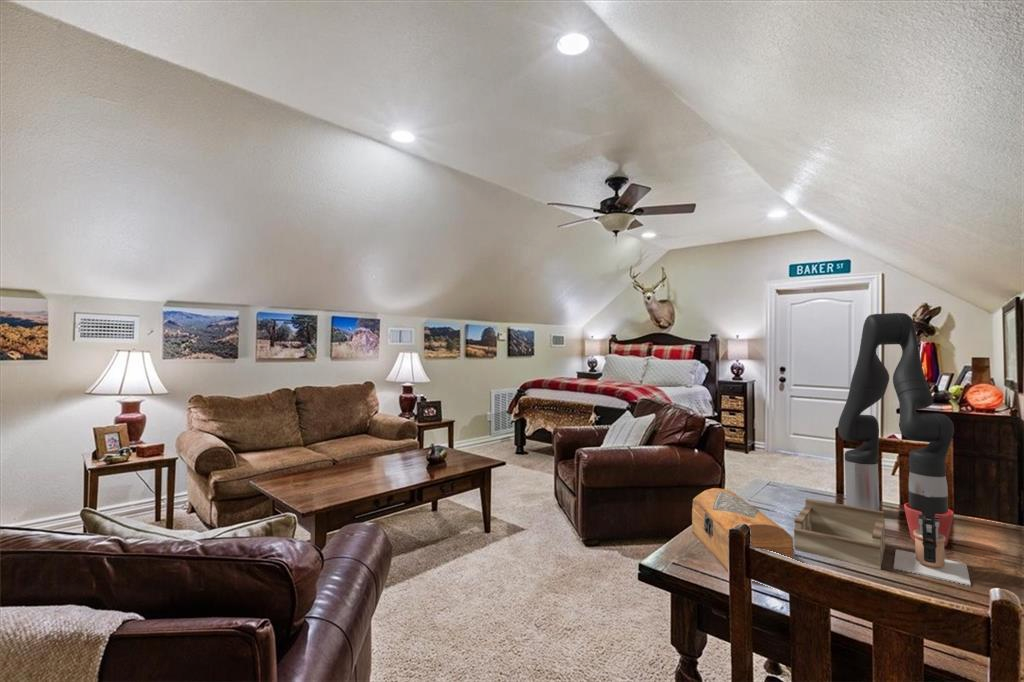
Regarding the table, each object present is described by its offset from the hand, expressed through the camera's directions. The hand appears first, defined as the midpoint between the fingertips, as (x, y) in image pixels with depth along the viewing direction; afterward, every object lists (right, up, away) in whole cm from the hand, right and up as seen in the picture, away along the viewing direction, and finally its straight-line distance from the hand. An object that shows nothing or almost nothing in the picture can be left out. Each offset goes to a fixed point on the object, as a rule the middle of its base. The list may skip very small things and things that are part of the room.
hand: (929, 557), depth 120 cm
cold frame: (-14, -3, +12) cm, 19 cm away
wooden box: (-45, -4, +9) cm, 46 cm away
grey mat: (0, -2, 0) cm, 2 cm away
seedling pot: (0, -1, 0) cm, 1 cm away
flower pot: (+14, -3, +16) cm, 21 cm away
